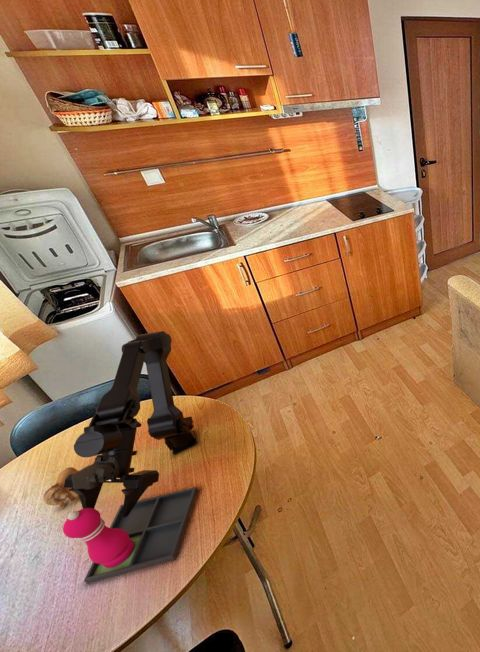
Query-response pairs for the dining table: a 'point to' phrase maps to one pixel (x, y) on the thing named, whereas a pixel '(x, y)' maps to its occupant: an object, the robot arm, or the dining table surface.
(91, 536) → the pepper mill
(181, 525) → the grid
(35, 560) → the dining table surface
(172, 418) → the robot arm
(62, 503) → the lion figurine
